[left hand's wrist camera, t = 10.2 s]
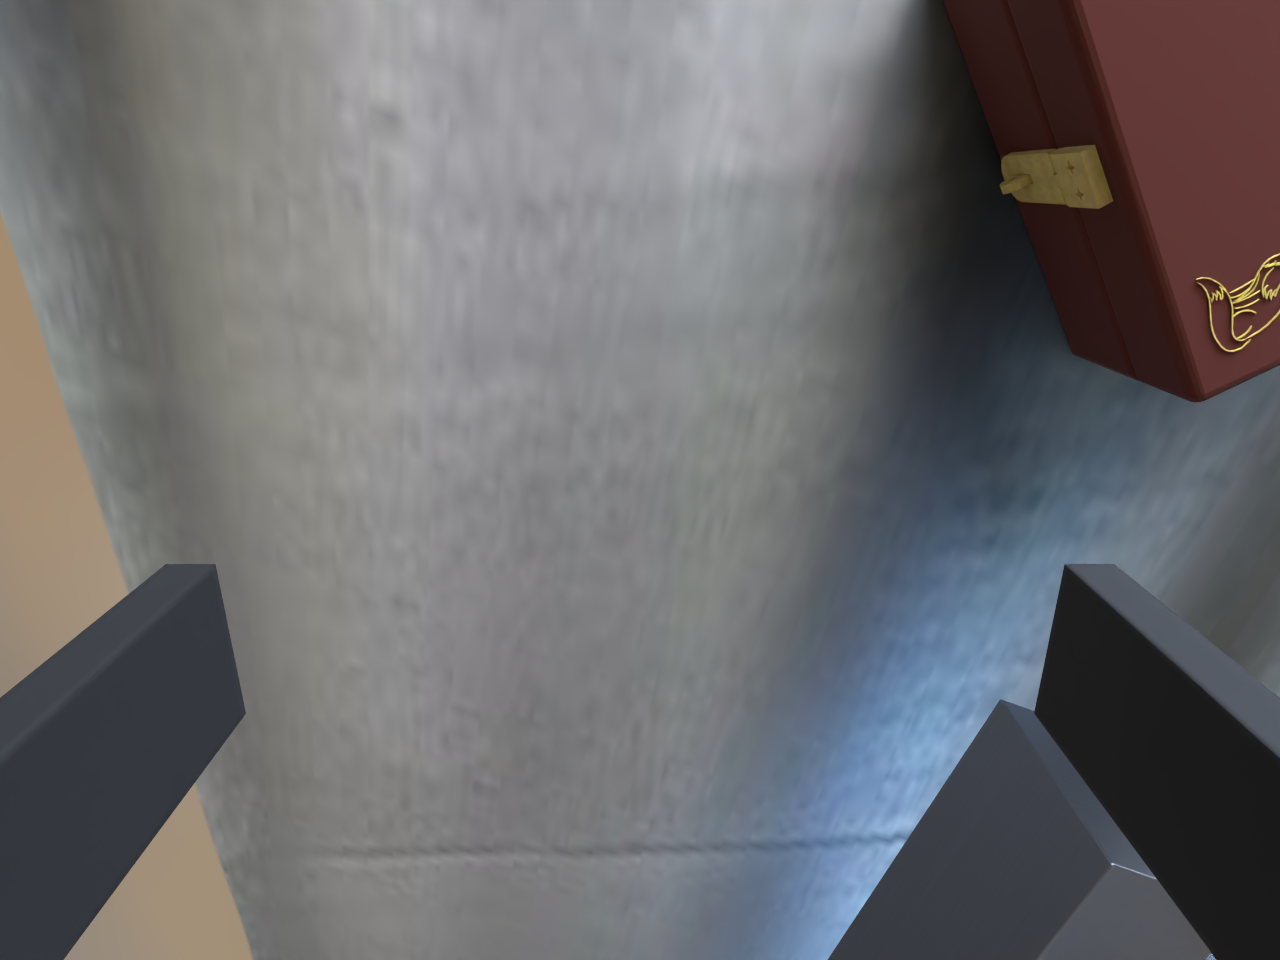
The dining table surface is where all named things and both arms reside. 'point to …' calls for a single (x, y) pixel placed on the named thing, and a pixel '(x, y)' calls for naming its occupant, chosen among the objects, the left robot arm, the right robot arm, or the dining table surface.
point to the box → (1143, 174)
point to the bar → (1018, 868)
